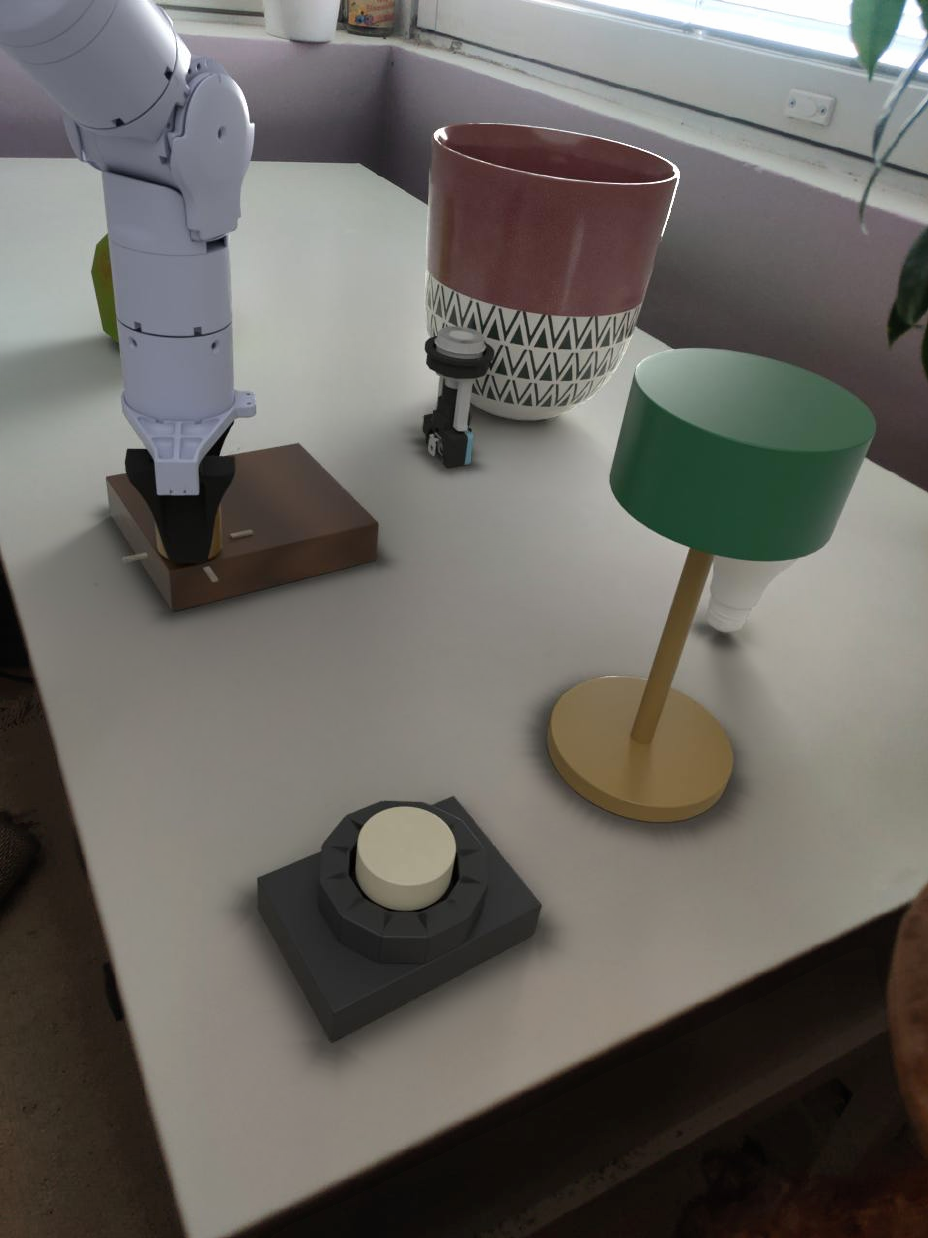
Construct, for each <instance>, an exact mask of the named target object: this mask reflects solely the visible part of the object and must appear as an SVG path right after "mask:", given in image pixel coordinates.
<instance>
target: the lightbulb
mask: <svg viewBox="0 0 928 1238" xmlns="http://www.w3.org/2000/svg"><path fill="white" fill-rule="evenodd" d="M799 559H800V558H797V559H792V560H785V561H771V562H765V561H748V560H738V559H733V558H727V557H721V556H717V555H715V557H714V560H713V563H712V567H713V568H712V578H711V581H710V585H709V592H710V597H709V599H708V604H707V608H706V610H705V611H706V612H705V619H706V620H707V622H708V624H709V625H710V626H712V627H713V628H714V629H715V630H716V631H718V632H721V633H735V632H738V631H740V630H742V629H743V627H744V626H745V624H746V621H747V619H748V617H749V615H750V612H751V611H752V609H753V608H754V607H755V606H756V605H757V604H758V603H759V601H760V599H761V596H762V595H763V593H764V591H765V590H766V588H767V587H768V586H769V584H770V583H771V582H773V580H774V579H775V578H776V577H778V576H779V575H780V574H782V573H784V572H785V571H786V570H788V569H789V568H790V567H791V566H793V564H795V563H796V562H797V561H798V560H799Z"/></svg>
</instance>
